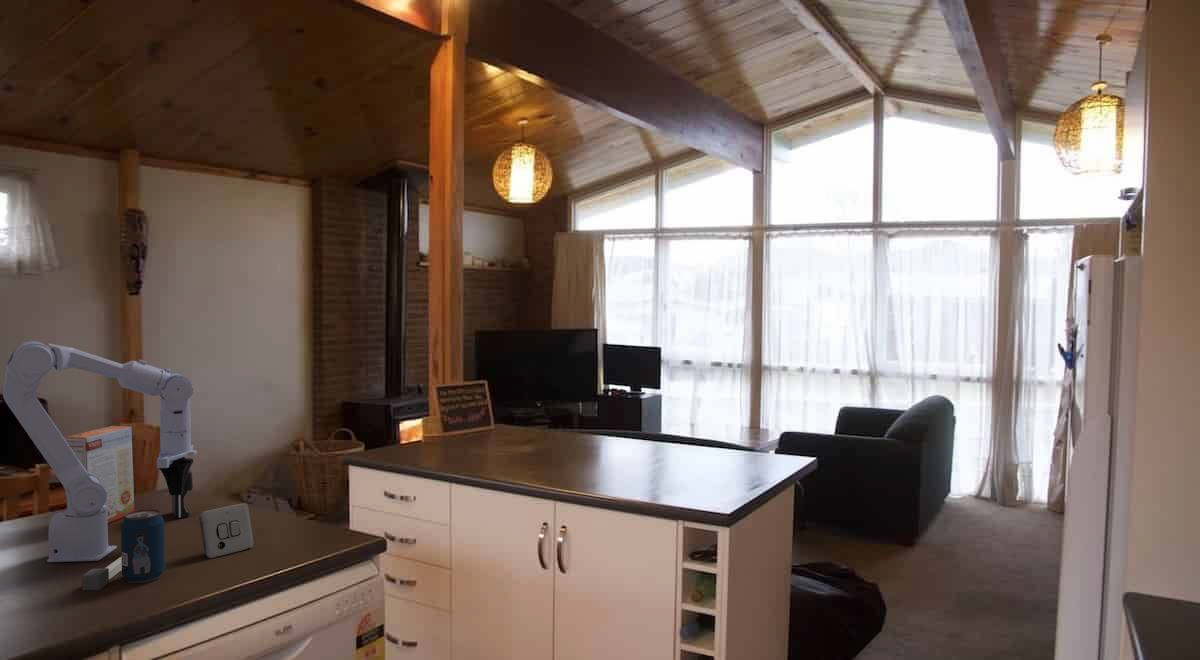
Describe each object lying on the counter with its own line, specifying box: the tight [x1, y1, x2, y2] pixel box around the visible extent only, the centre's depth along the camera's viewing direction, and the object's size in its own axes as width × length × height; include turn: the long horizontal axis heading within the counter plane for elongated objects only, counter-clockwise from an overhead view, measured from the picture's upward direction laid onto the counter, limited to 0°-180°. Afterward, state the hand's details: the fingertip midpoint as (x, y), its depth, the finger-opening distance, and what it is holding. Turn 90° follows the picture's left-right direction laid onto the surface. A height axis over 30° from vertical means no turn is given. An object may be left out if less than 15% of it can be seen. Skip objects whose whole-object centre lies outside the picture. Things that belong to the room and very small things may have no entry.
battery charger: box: [171, 468, 194, 519], centre depth 187 cm, size 7×4×11 cm, turn 35°
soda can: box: [120, 509, 166, 584], centre depth 146 cm, size 7×7×12 cm
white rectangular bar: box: [81, 555, 122, 591], centre depth 152 cm, size 3×23×3 cm, turn 8°
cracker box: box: [64, 425, 135, 524], centre depth 180 cm, size 14×6×21 cm, turn 172°
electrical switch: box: [198, 503, 254, 559], centre depth 162 cm, size 9×5×9 cm, turn 141°
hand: (176, 494), depth 167 cm, fingers closed
